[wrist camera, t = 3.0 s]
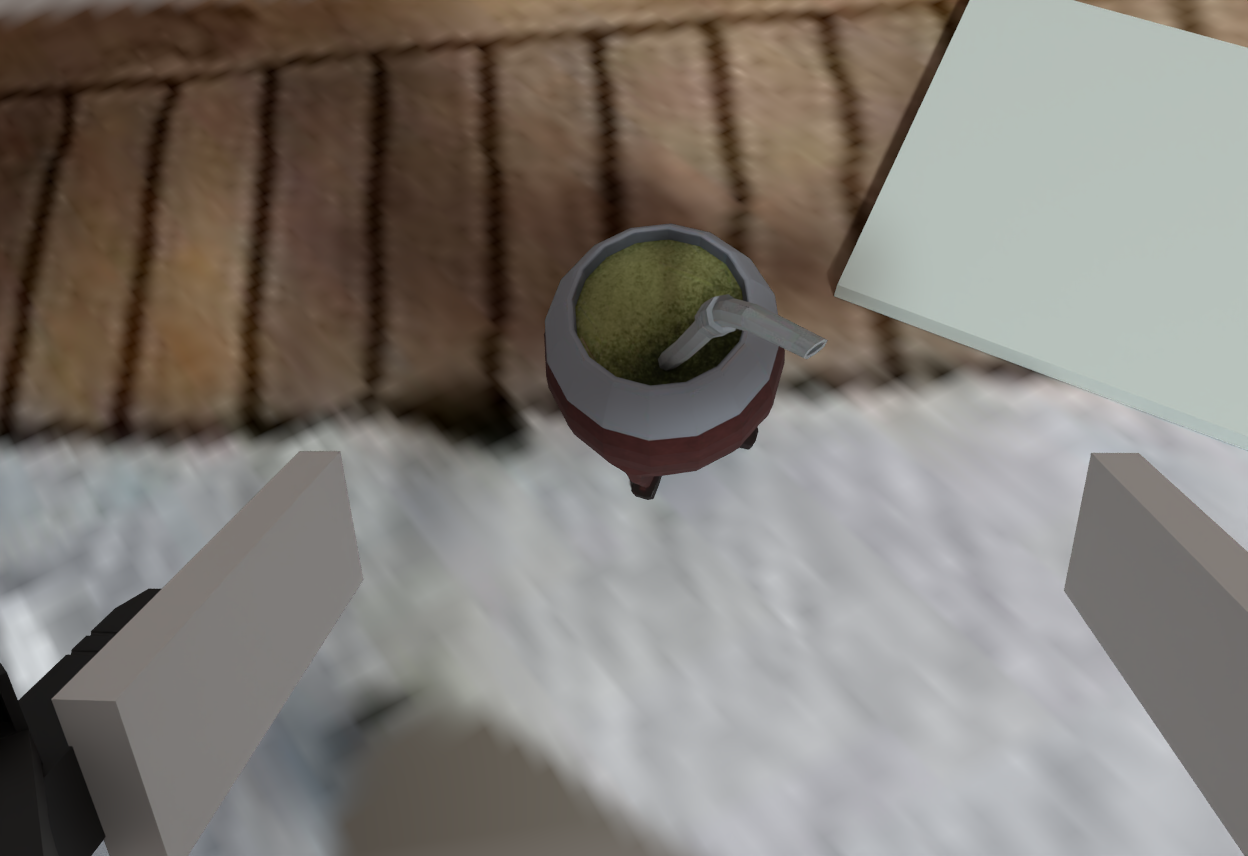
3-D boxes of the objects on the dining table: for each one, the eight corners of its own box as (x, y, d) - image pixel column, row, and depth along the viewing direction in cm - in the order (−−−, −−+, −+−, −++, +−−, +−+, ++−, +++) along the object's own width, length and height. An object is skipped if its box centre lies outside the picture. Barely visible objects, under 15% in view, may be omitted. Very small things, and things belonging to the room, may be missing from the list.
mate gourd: (605, 309, 32) (536, -39, 18) (814, 361, 31) (912, 27, 17) (537, 493, 30) (398, 253, 16) (761, 559, 28) (822, 358, 14)
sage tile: (833, 296, 32) (837, 284, 31) (975, -9, 36) (981, -25, 36) (1510, 548, 27) (1534, 542, 26) (1573, 157, 31) (1594, 142, 31)
